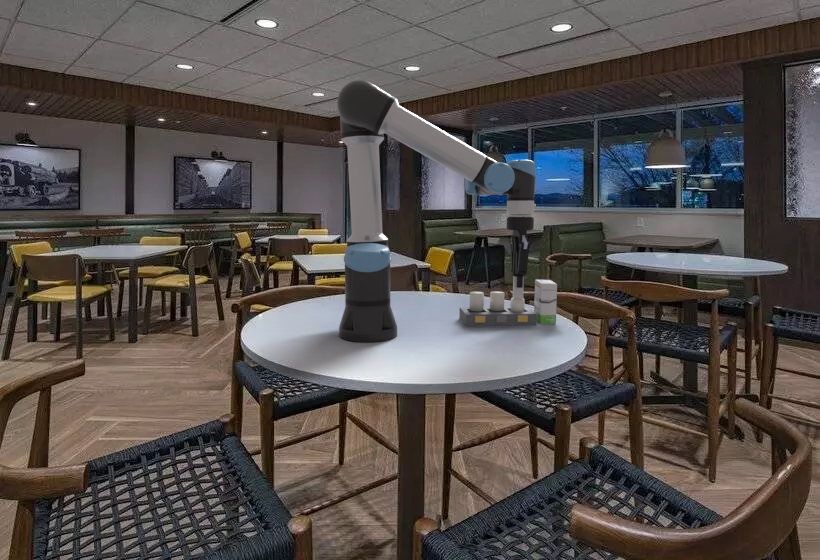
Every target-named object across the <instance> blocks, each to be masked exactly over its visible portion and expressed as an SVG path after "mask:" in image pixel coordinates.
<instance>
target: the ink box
mask: <svg viewBox="0 0 820 560" xmlns="http://www.w3.org/2000/svg"><path fill="white" fill-rule="evenodd" d="M557 296H558V284H557V283H556V282H554V281H553V280H552V279H535V280H534V302H533V306H534V307H533V312H535V313H536V314H537V319H536V322H537V323H538V324H542V325H543V324H544V325H545V324H547V325H549V324H550V325H554V324H555V325H556V324H557V304H558V302H557V301H558V299H557Z"/></svg>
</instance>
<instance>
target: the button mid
mask: <svg viewBox="0 0 820 560" xmlns="http://www.w3.org/2000/svg"><path fill="white" fill-rule="evenodd" d="M489 293H490V294H489V297H490V298H489V307H490V310H492V311H503V310H504V307H505V292H504V291H490V292H489Z"/></svg>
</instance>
